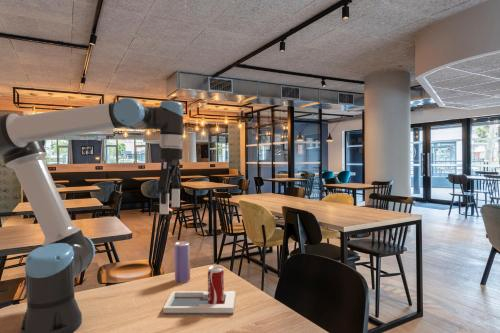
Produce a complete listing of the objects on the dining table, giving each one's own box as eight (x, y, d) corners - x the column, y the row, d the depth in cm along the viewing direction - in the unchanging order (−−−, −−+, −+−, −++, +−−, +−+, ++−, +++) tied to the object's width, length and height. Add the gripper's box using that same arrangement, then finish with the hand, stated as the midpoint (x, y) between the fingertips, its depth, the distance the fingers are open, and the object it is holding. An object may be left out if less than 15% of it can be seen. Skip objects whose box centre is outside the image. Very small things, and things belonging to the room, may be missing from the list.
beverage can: (182, 284, 122) (182, 246, 122) (171, 281, 126) (171, 243, 125) (193, 279, 127) (192, 242, 127) (182, 276, 131) (182, 240, 130)
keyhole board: (163, 314, 100) (163, 307, 100) (173, 297, 112) (172, 291, 112) (233, 314, 99) (233, 307, 99) (235, 297, 111) (235, 291, 111)
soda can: (221, 308, 102) (220, 271, 102) (206, 306, 103) (205, 270, 103) (225, 300, 107) (225, 265, 107) (211, 299, 108) (210, 264, 108)
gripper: (171, 147, 95) (170, 217, 95) (190, 148, 120) (189, 204, 120) (147, 146, 95) (146, 216, 96) (170, 148, 120) (169, 204, 121)
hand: (170, 210), depth 108 cm, fingers open, 13 cm apart
